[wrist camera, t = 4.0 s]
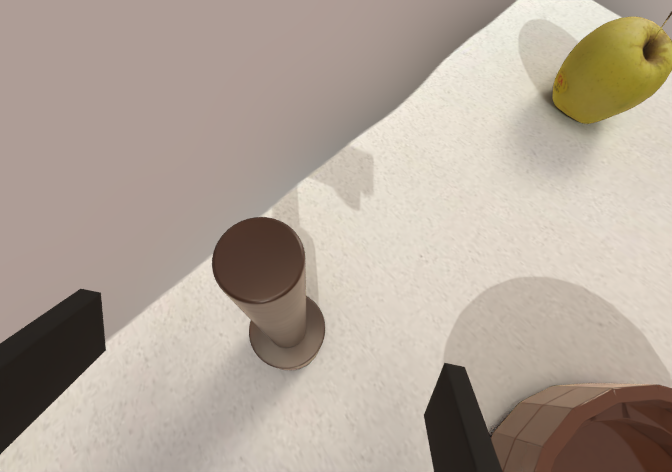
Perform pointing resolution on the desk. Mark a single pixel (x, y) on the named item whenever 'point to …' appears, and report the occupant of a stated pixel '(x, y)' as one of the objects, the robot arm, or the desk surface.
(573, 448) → the bowl
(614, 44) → the apple
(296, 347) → the brown pestle
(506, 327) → the desk surface
